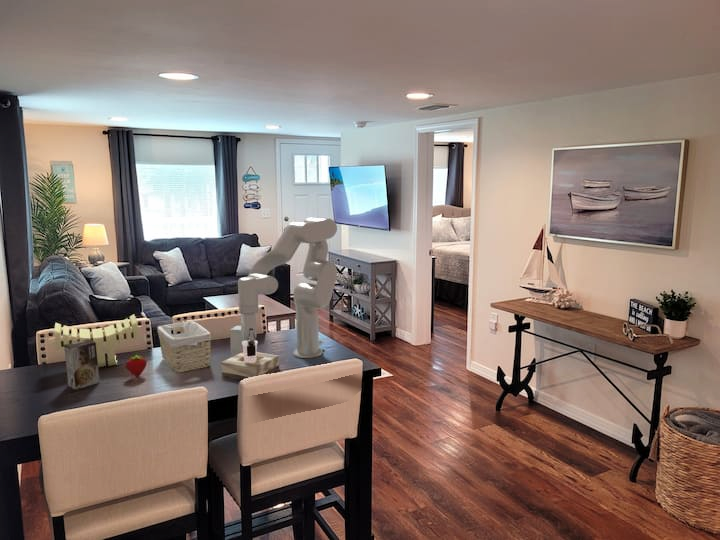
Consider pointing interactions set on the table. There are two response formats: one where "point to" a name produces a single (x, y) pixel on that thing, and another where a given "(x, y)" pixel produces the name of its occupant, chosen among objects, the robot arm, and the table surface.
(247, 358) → the beverage cup
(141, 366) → the strawberry
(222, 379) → the table surface
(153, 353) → the table surface
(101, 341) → the slatted curved stool
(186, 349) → the storage basket
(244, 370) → the socket block
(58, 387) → the table surface
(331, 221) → the robot arm
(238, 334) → the supplement box
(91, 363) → the coffee box
